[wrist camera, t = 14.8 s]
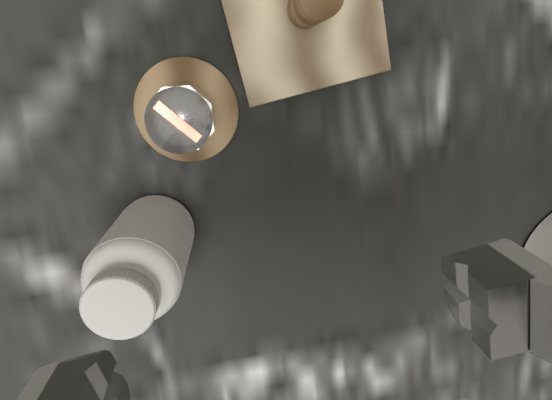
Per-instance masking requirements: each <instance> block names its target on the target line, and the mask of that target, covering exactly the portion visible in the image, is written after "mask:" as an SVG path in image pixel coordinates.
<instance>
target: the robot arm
mask: <svg viewBox="0 0 552 400" xmlns="http://www.w3.org/2000/svg"><path fill="white" fill-rule="evenodd" d="M441 267H442V273H443V274H444V275H445V276H446V277H447V278H448V281H447V282H446V284H445V286H444V295H445V301H446V303H447V306H448V309H449V311H450V313H451V314H452V316H453V318H454V319H455V320H456V321H457V322H458V324H459V325H460V326H462V327H464V328H467V329H470V330H471V331H472V340H473V341H474V342H475V343H476V344H477V345H478V346H479V347H480V349H481V350H482V351H483V352H484V353H485V354H486V355H487V356H488V357H489V359H490V360H491V361H492V360H496V359H499V358H503V357H507V356H511V355H515V354H519V353H523V352H527V351H530V353H532V354H534V355H536V356H538V357H540V358H542V359H544V360H546V361H548V362H551V363H552V213H551V214H550V215H549V216H548V217H546V218H545V219H544V220H543V221H542V222H541V223H540V224H539V225H538V226H537V228H536V229H535V230H534V231H533V233H532V234H531V236H530V237H529V239H528V241H527V242H526V244H525V247H524V248H523V247H521V246H519V245H518V244H516V243H514V242H513V241H511V240H510V239H504V238H502V239H499V240H496V241H493V242H490V243H486V244H483V245H482V246H478V247H475V248H471V249H468V250H464V251H461V252H457V253H454V254H451V255H447V256H444V257H442V261H441ZM116 363H117V362H116V361H115V359H114V357H113V355H112V354H111V352H110V351H107V350H102V351H98V352H94V353H90V354H86V355H82V356H78V357H74V358H70V359H67V360H64V361H59V362H55V363H52V364H48V365H45V366H42V367H40V368H39V369H37V370H36V371H35V373H34V374H33V376H32V377H31V379H30V381H29V382H28V384H27V385H26V387H25V388H24V390H23V391H22V393H21V394H20V396H19V397H18V399H17V400H130V391H129V387H128V384H127V382H126V380H125V378H124V377H123V376H122V375H120V374H118V373H116V372H114V369H115V366H116Z"/></svg>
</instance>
